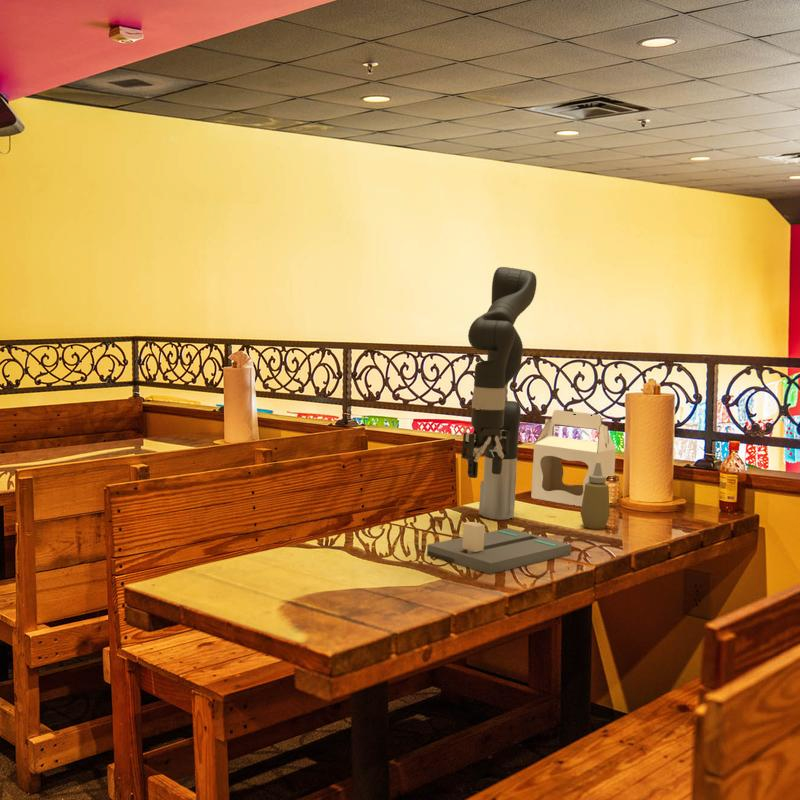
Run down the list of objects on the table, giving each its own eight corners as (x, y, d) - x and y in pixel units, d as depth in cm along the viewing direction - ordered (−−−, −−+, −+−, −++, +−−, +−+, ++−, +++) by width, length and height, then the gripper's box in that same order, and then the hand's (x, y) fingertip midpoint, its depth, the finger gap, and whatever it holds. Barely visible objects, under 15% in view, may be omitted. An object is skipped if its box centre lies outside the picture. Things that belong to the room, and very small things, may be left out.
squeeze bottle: (611, 531, 266) (616, 466, 264) (582, 529, 266) (586, 464, 264) (606, 524, 274) (610, 461, 272) (577, 523, 274) (581, 460, 272)
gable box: (613, 503, 304) (619, 414, 301) (594, 509, 294) (600, 417, 291) (550, 492, 317) (555, 407, 315) (530, 498, 307) (535, 410, 304)
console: (427, 554, 232) (427, 543, 232) (507, 537, 253) (508, 527, 253) (490, 574, 218) (491, 562, 218) (570, 554, 239) (571, 543, 239)
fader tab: (462, 554, 229) (463, 523, 228) (470, 552, 231) (472, 521, 230) (474, 557, 226) (476, 526, 225) (483, 555, 228) (484, 525, 227)
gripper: (495, 403, 233) (491, 470, 234) (455, 406, 222) (452, 476, 224) (520, 407, 227) (516, 475, 229) (480, 409, 217) (477, 481, 219)
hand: (484, 475), depth 226 cm, fingers open, 8 cm apart
